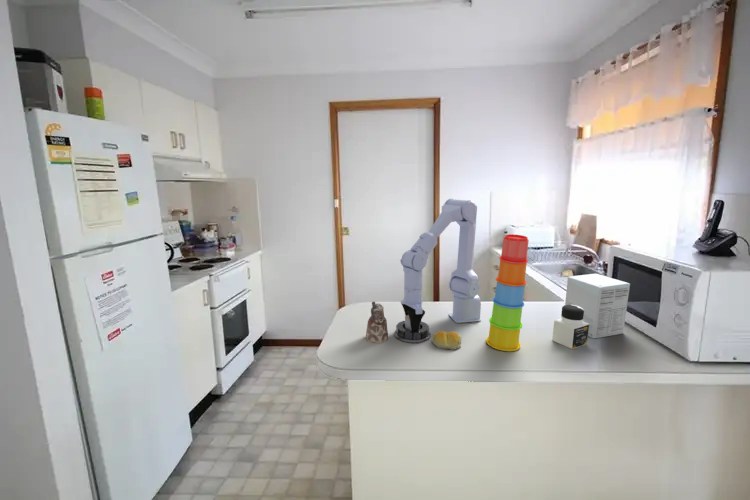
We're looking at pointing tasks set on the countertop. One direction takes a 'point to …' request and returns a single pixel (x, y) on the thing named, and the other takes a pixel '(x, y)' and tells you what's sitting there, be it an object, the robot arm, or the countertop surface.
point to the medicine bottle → (571, 327)
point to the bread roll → (447, 340)
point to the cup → (408, 323)
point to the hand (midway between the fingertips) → (412, 326)
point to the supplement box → (599, 302)
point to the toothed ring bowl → (412, 333)
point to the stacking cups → (509, 294)
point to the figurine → (377, 325)
